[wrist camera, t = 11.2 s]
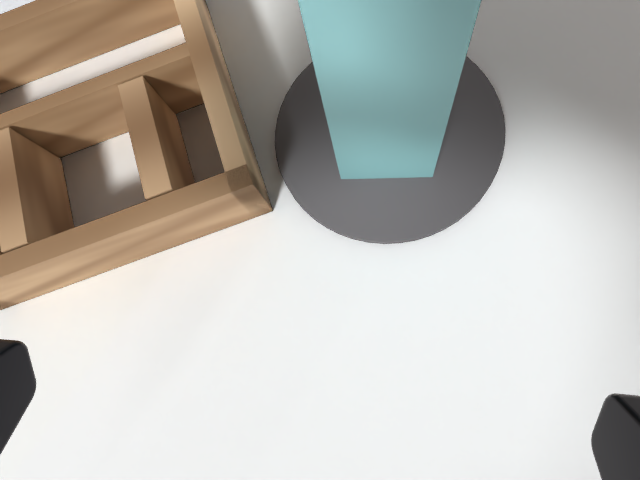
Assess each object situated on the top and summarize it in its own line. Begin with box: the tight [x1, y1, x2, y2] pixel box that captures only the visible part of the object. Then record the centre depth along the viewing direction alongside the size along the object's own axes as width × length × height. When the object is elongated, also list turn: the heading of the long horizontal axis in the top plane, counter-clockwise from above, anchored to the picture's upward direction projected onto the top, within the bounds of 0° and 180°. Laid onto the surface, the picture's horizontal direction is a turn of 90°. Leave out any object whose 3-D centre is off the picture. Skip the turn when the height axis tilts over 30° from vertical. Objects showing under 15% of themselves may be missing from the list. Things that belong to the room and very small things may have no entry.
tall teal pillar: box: [298, 0, 481, 179], centre depth 13 cm, size 4×4×10 cm
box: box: [0, 0, 273, 310], centre depth 19 cm, size 11×12×3 cm
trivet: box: [275, 57, 505, 244], centre depth 19 cm, size 9×9×1 cm
